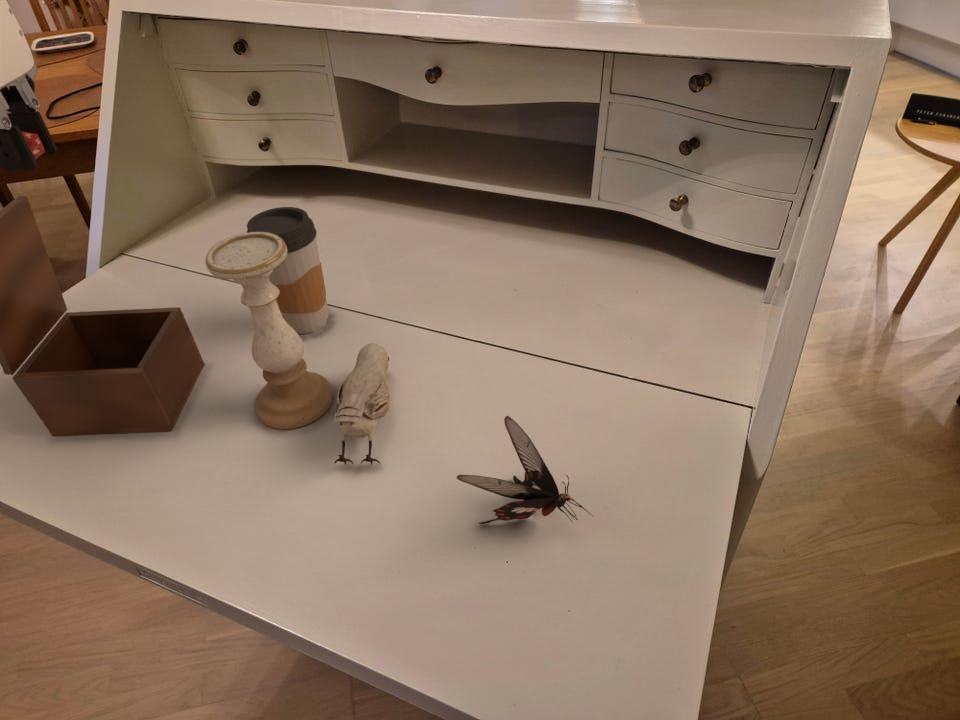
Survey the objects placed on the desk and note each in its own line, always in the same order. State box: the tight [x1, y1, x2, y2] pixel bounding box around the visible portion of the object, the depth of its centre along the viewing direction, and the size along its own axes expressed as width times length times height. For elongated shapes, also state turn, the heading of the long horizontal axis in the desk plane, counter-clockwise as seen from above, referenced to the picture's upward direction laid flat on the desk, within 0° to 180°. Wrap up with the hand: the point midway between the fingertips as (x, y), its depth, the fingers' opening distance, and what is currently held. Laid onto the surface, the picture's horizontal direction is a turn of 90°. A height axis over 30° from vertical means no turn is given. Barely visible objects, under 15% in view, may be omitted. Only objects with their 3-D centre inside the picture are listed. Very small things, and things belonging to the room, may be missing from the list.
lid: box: [0, 195, 68, 376], centre depth 65 cm, size 14×12×1 cm
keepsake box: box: [11, 306, 205, 437], centre depth 73 cm, size 14×12×9 cm
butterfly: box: [456, 415, 595, 525], centre depth 58 cm, size 11×8×10 cm
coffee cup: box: [246, 206, 330, 335], centre depth 81 cm, size 8×8×15 cm
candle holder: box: [205, 232, 334, 430], centre depth 67 cm, size 9×9×20 cm
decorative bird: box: [332, 342, 391, 466], centre depth 69 cm, size 5×16×8 cm, turn 178°
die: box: [22, 132, 45, 160], centre depth 62 cm, size 3×3×3 cm
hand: (31, 159), depth 62 cm, fingers closed on die, 3 cm apart
